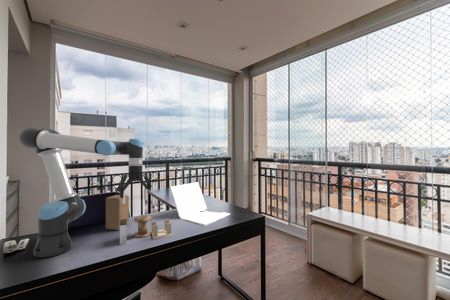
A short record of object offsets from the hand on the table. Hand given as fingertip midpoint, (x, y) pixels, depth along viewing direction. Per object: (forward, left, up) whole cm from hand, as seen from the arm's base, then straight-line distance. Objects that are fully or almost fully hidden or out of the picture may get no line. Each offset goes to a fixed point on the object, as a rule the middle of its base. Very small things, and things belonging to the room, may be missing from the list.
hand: (134, 201), depth 126 cm
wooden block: (-10, +18, -20) cm, 28 cm away
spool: (+4, -2, -19) cm, 20 cm away
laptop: (+46, +19, -20) cm, 54 cm away
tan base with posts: (+14, -6, -19) cm, 25 cm away
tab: (-6, -7, -20) cm, 21 cm away
